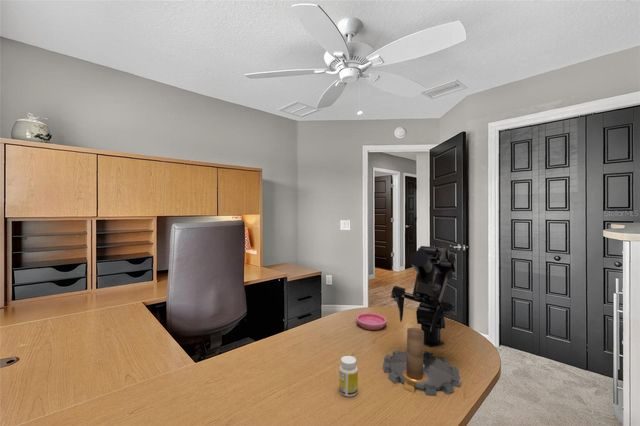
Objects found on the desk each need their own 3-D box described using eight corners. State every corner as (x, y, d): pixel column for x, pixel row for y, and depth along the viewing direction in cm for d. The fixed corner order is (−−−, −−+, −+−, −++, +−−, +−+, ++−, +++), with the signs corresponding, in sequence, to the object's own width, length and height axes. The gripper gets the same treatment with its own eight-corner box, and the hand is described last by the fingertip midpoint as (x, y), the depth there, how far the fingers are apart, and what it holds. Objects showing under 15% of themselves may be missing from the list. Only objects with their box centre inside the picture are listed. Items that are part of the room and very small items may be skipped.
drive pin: (407, 369, 82) (407, 326, 82) (423, 372, 81) (424, 329, 81) (405, 377, 78) (406, 332, 78) (422, 381, 77) (423, 335, 77)
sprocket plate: (420, 348, 98) (420, 342, 98) (477, 382, 79) (477, 374, 79) (369, 362, 89) (369, 354, 89) (419, 404, 70) (420, 395, 70)
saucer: (384, 320, 123) (385, 313, 123) (388, 333, 111) (388, 325, 111) (355, 319, 125) (356, 312, 125) (356, 331, 112) (356, 323, 112)
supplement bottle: (359, 388, 76) (359, 356, 76) (355, 399, 72) (355, 365, 72) (341, 384, 78) (342, 353, 78) (337, 394, 73) (337, 362, 73)
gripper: (398, 263, 92) (387, 310, 85) (460, 280, 87) (454, 332, 80) (396, 275, 102) (385, 318, 95) (452, 291, 96) (445, 338, 89)
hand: (415, 326), depth 89 cm, fingers open, 9 cm apart
